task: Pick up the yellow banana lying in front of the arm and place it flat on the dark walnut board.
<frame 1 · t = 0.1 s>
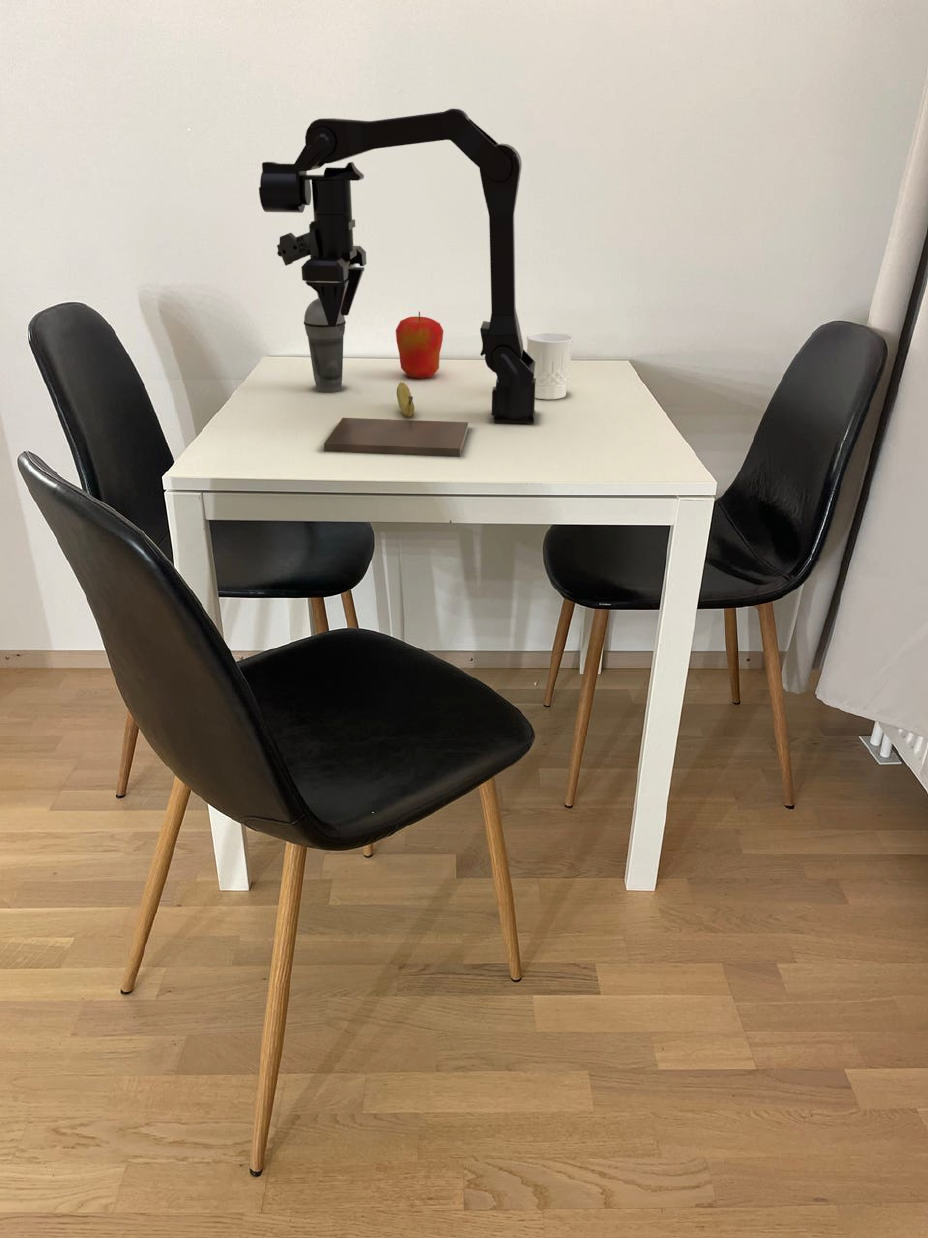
hand: (338, 320, 146), 15 cm above the table, tool pointing down, fingers open, 9 cm apart
beverage cup: (328, 389, 165), on the table
banana: (406, 413, 153), on the table
apple: (420, 377, 174), on the table
white cup: (546, 395, 163), on the table
walnut board: (398, 439, 140), on the table
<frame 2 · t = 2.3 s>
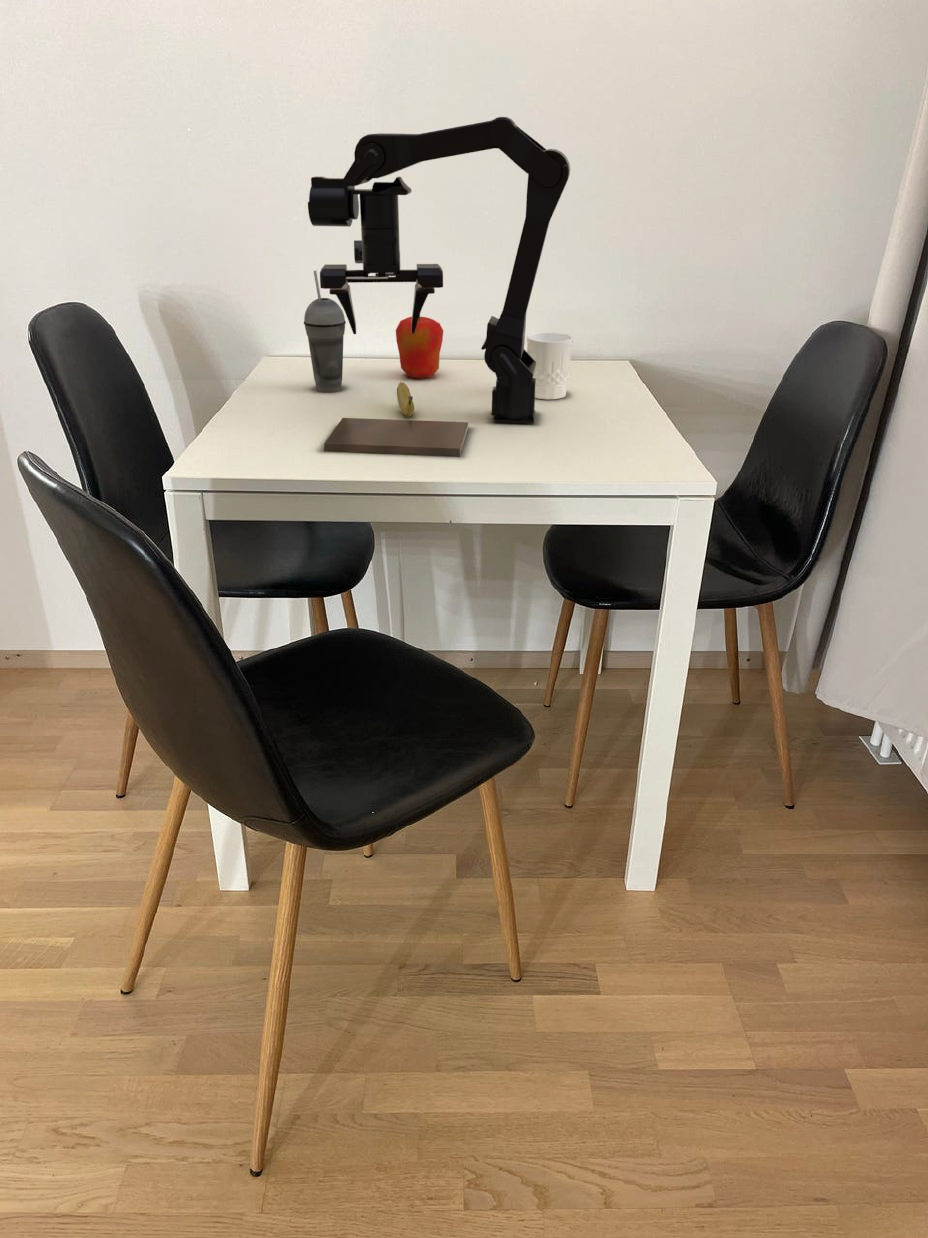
hand: (384, 333, 147), 13 cm above the table, tool pointing down, fingers open, 9 cm apart
nothing on the table moved.
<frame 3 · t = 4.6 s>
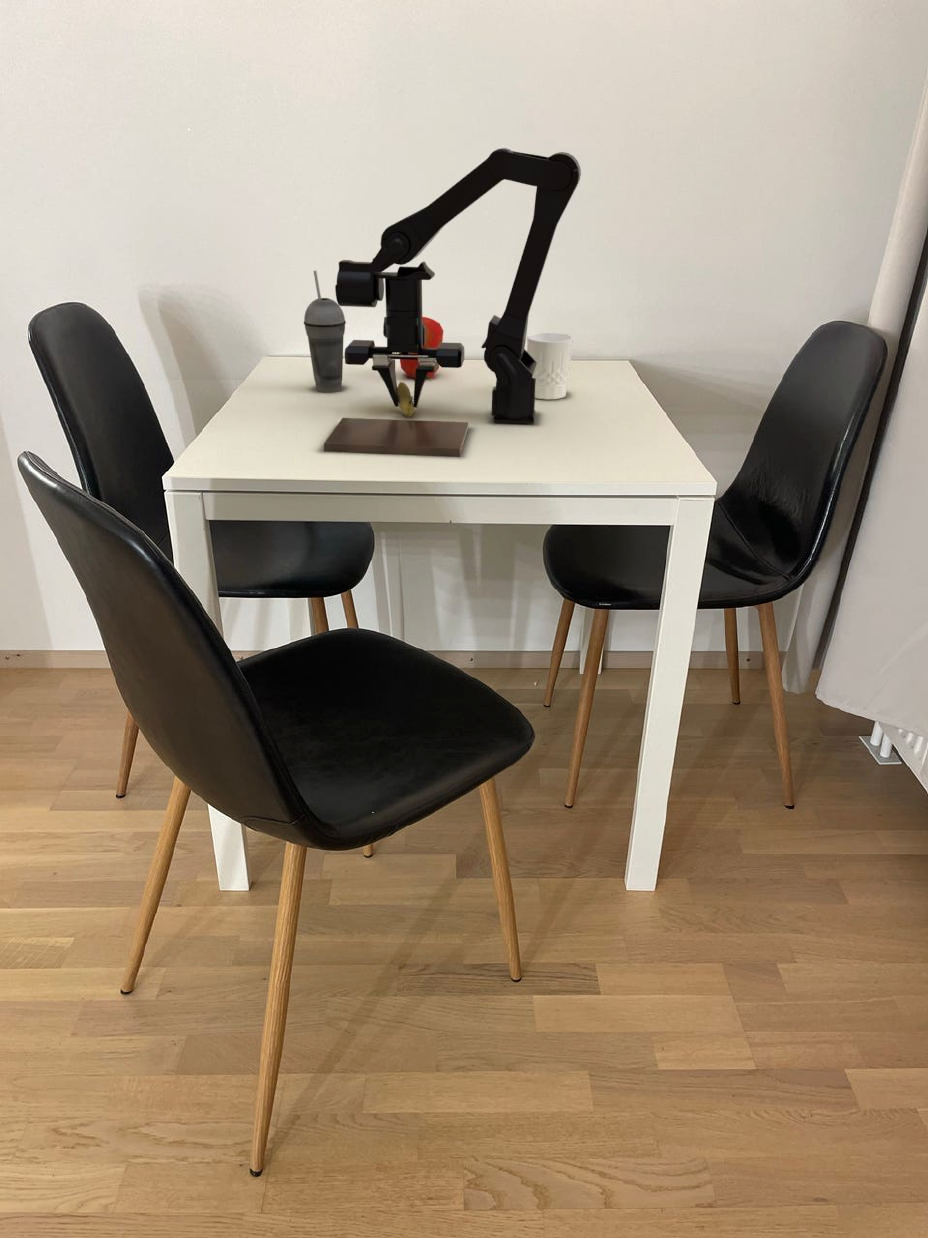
hand: (406, 406, 152), 1 cm above the table, tool pointing down, fingers closed on banana, 3 cm apart
banana: (406, 413, 153), on the table, touching gripper
everything else where it was.
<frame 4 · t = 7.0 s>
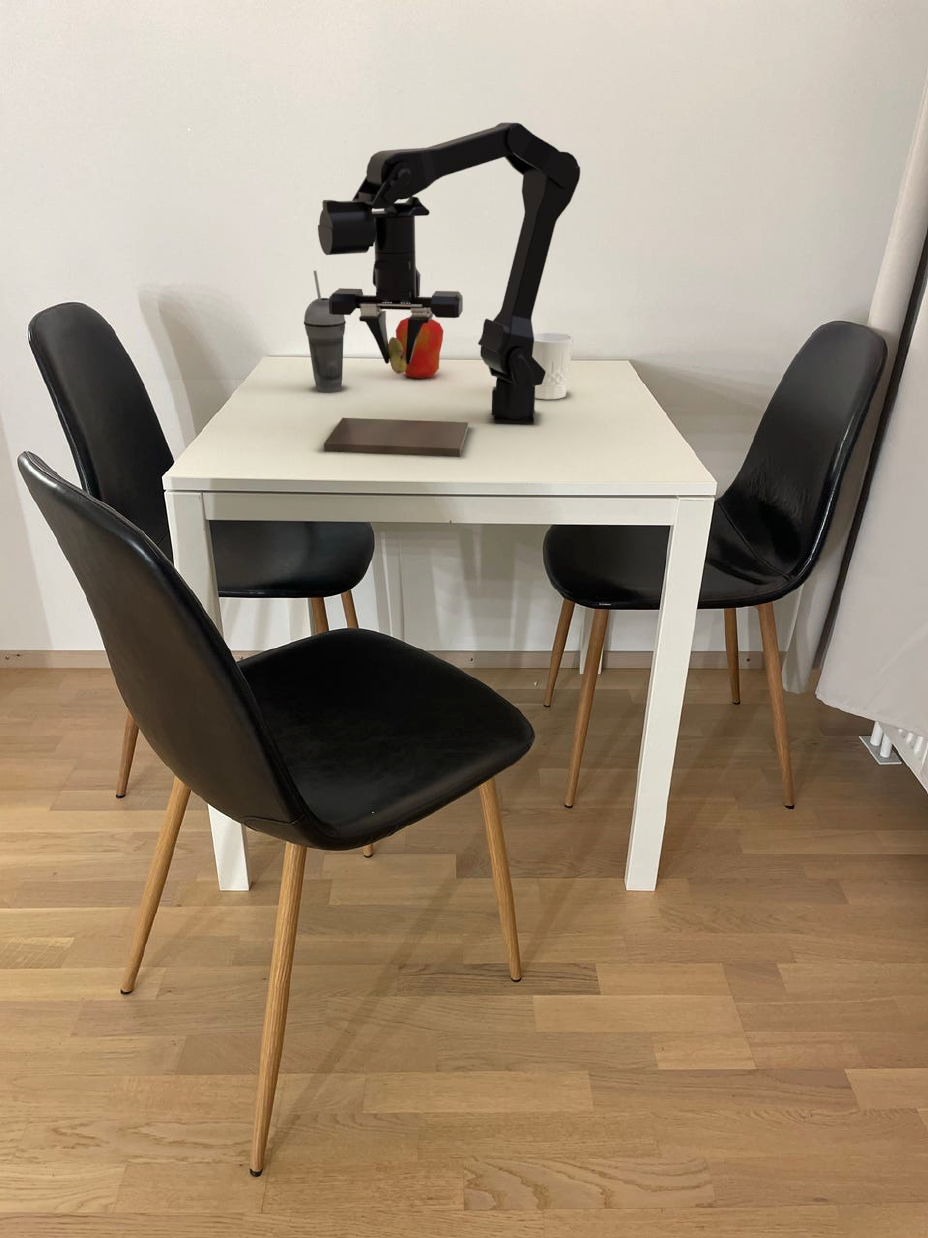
hand: (398, 363, 137), 11 cm above the table, tool pointing down, fingers closed on banana, 3 cm apart
banana: (398, 371, 138), point 10 cm above the table, touching gripper
everything else where it was.
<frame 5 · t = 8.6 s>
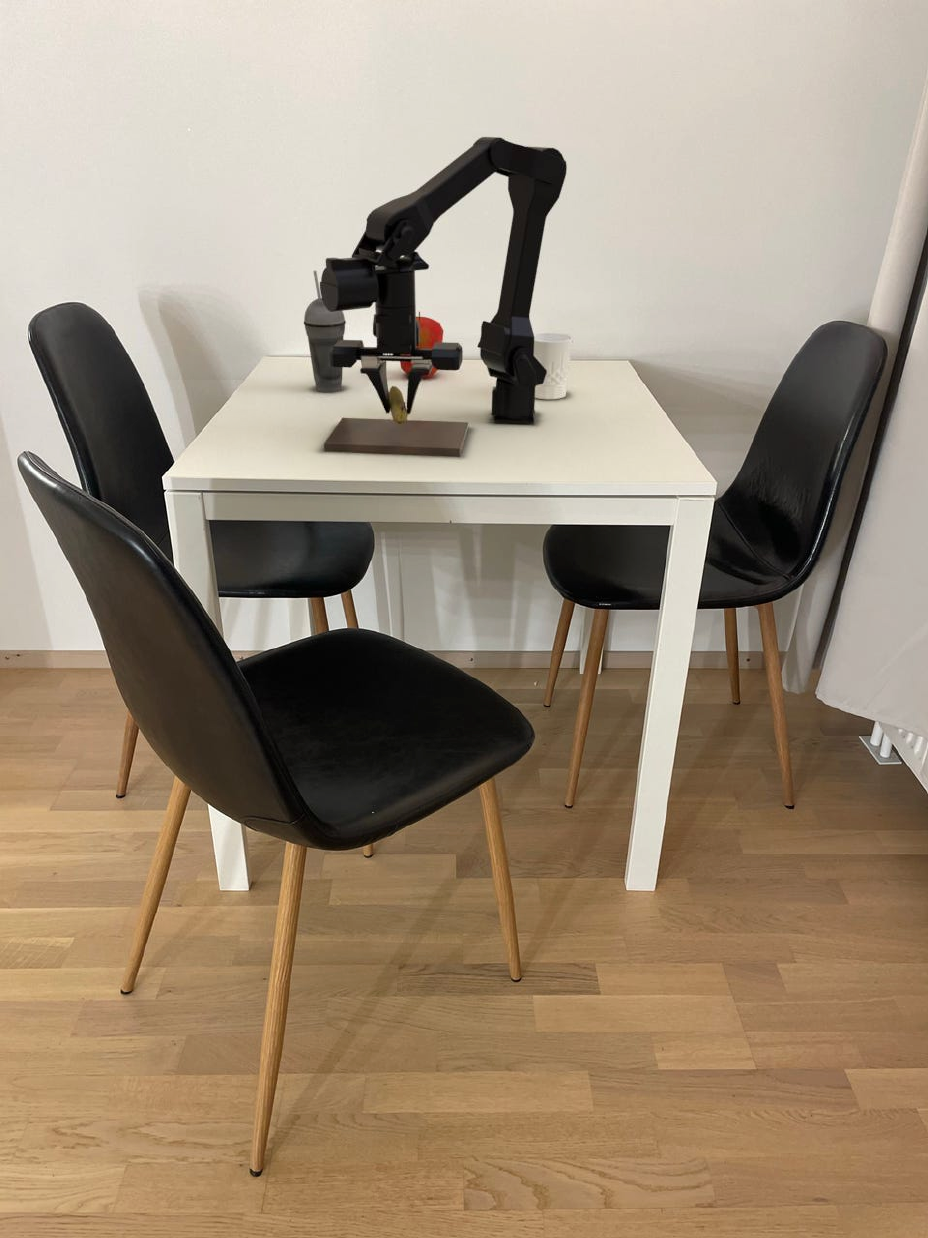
hand: (398, 413, 138), 4 cm above the table, tool pointing down, fingers closed on banana, 3 cm apart
banana: (398, 420, 139), point 3 cm above the table, touching gripper
everything else where it was.
when the fingers open (2 cm above the table, at t = 9.5 s): banana stays where it is, resting on walnut board.
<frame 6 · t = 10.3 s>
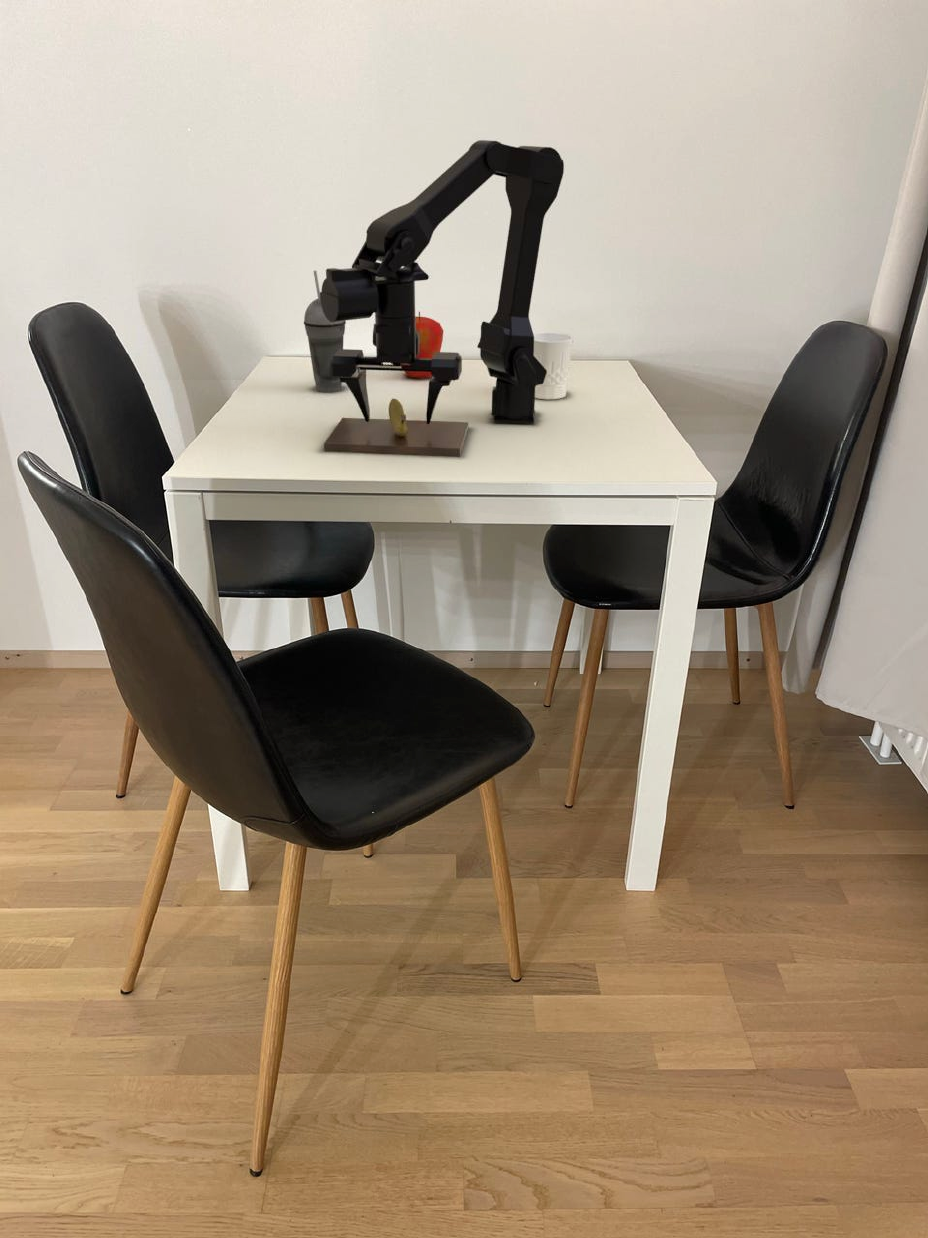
hand: (398, 422, 139), 3 cm above the table, tool pointing down, fingers open, 9 cm apart
banana: (399, 433, 140), point 1 cm above the table, touching walnut board
everything else where it was.
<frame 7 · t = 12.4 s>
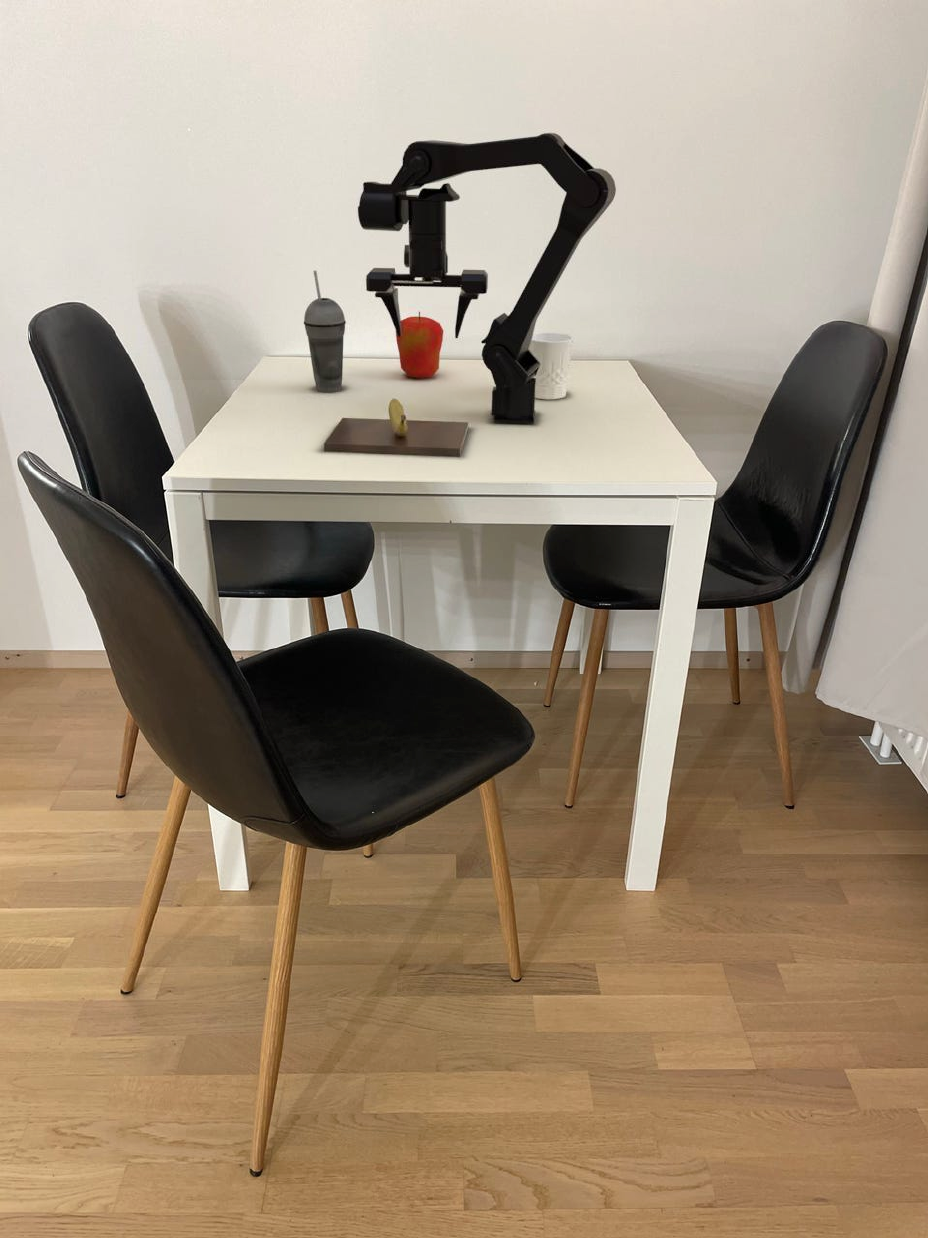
hand: (428, 336, 149), 12 cm above the table, tool pointing down, fingers open, 9 cm apart
nothing on the table moved.
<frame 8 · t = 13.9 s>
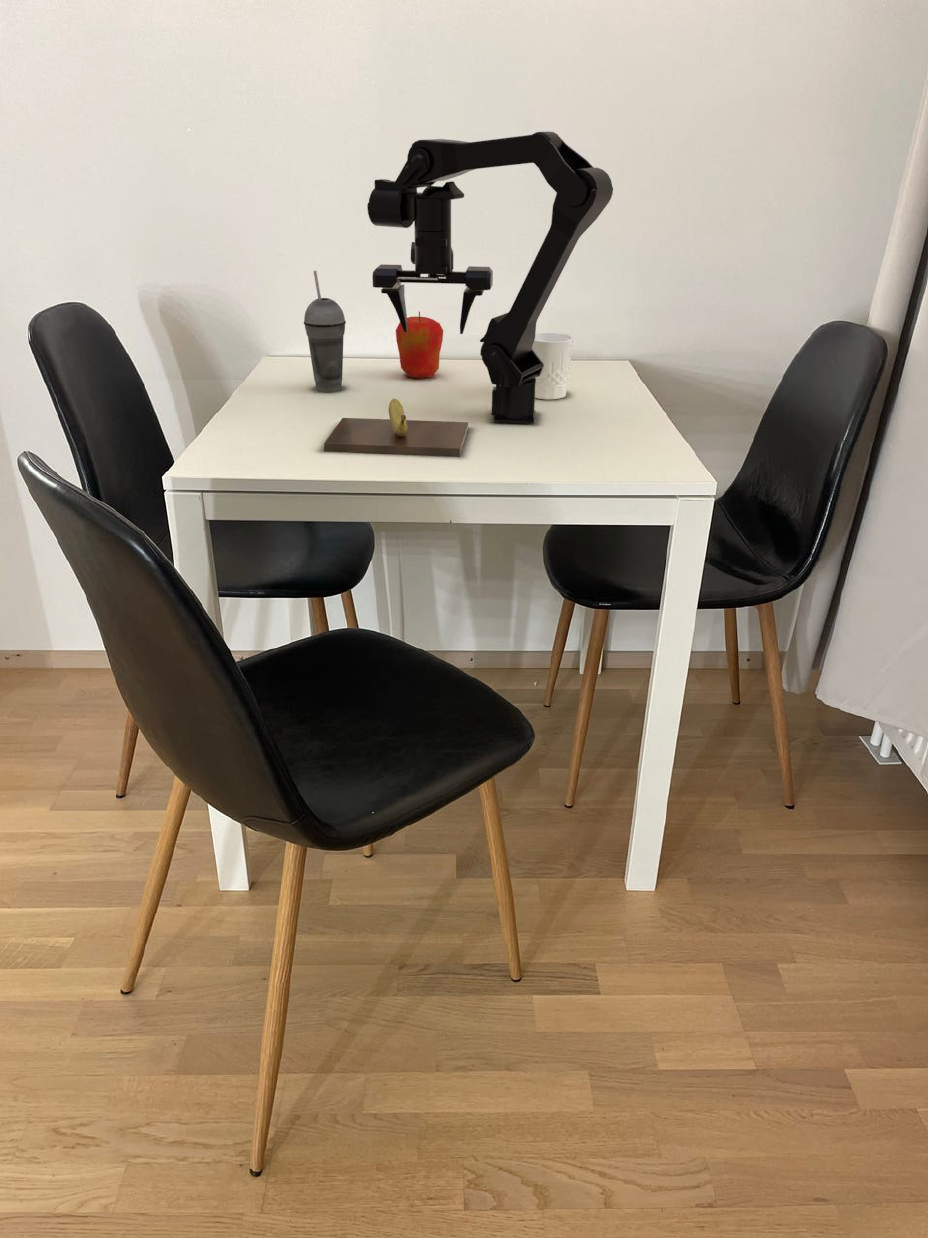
hand: (433, 332, 151), 12 cm above the table, tool pointing down, fingers open, 9 cm apart
nothing on the table moved.
at the end: banana inside the target area on the walnut board (0.1 cm from its centre), point 1.0 cm above the walnut board's base; banana touching walnut board; the gripper is holding nothing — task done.
